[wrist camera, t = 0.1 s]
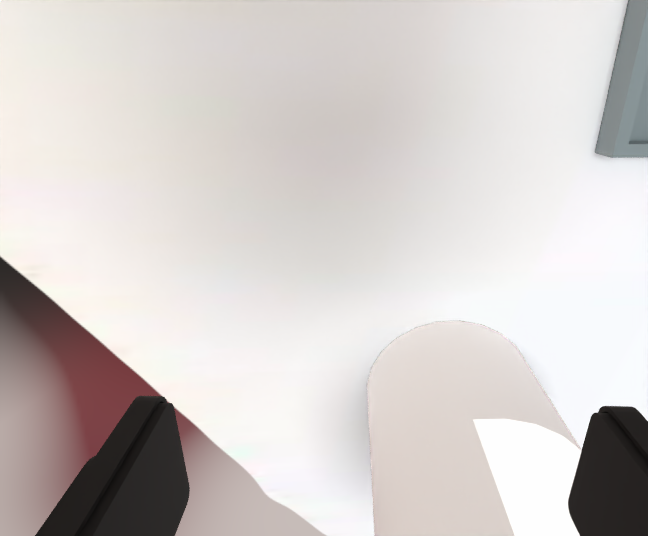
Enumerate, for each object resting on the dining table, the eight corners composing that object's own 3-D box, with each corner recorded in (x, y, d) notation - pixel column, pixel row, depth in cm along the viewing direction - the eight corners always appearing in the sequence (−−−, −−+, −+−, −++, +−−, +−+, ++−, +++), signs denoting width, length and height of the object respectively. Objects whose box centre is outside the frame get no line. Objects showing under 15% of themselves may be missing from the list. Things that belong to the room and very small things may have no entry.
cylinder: (380, 458, 51) (410, 835, 26) (353, 334, 45) (355, 672, 19) (532, 440, 49) (733, 836, 23) (526, 307, 43) (794, 650, 17)
